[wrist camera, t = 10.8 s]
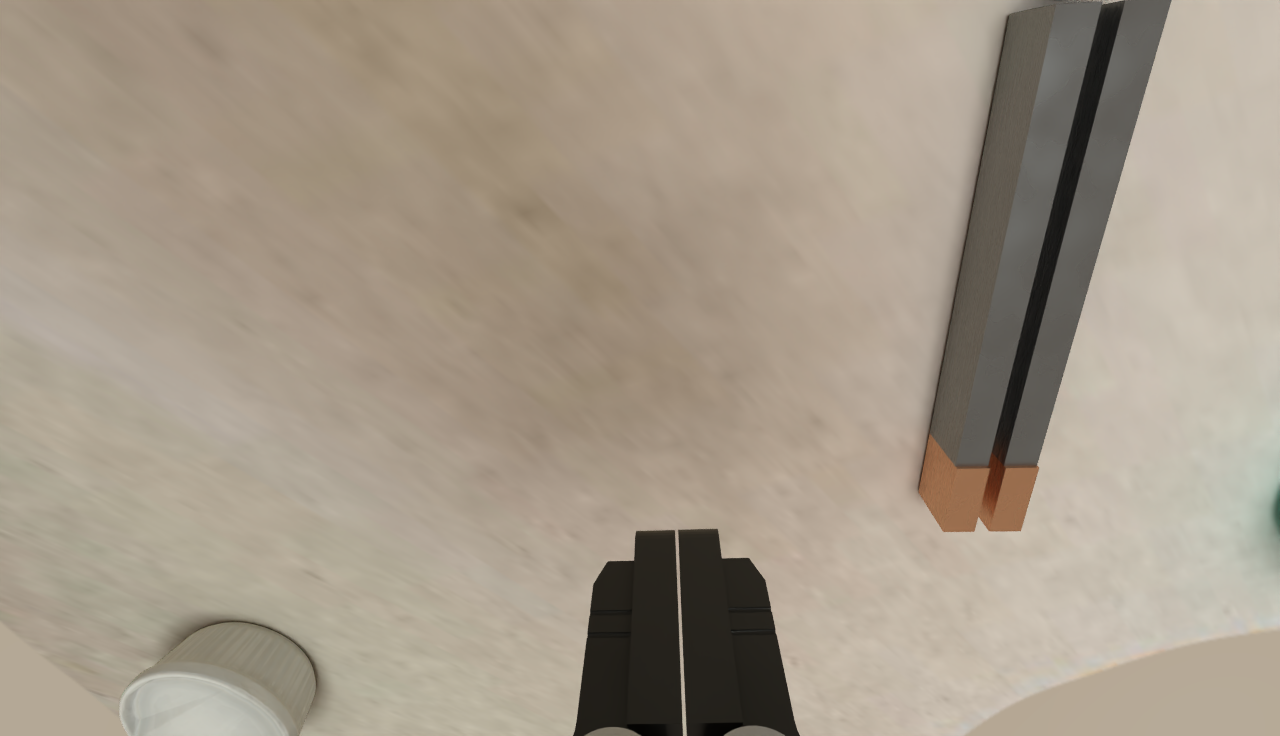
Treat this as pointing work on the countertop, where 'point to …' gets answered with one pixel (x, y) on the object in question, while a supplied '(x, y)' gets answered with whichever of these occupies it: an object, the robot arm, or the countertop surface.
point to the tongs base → (1071, 247)
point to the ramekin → (223, 686)
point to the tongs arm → (1003, 248)
